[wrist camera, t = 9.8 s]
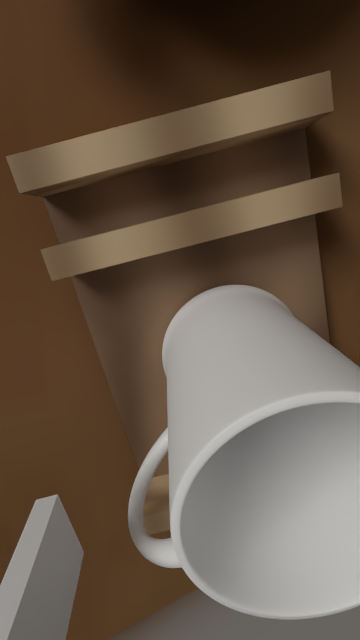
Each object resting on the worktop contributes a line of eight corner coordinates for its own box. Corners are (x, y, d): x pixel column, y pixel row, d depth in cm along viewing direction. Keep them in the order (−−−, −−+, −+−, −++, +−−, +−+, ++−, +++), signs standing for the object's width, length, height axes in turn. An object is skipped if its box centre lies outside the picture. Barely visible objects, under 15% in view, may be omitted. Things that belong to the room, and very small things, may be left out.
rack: (148, 483, 25) (146, 535, 21) (40, 169, 18) (6, 156, 14) (333, 439, 25) (367, 483, 21) (292, 102, 18) (330, 70, 14)
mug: (172, 459, 23) (182, 704, 11) (91, 368, 21) (1, 560, 9) (323, 364, 21) (511, 540, 10) (253, 254, 19) (391, 314, 8)
